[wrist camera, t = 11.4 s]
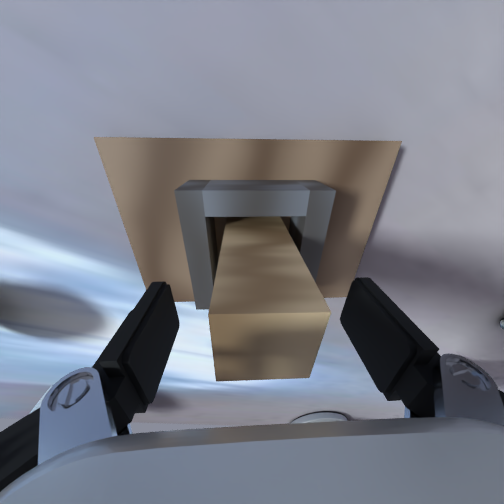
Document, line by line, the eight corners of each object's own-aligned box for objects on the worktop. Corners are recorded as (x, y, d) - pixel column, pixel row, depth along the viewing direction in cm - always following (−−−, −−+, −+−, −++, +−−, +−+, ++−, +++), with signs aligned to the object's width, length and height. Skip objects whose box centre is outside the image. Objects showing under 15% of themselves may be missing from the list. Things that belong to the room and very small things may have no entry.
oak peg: (278, 214, 15) (331, 312, 6) (274, 257, 17) (309, 377, 8) (227, 213, 15) (208, 314, 6) (229, 257, 17) (215, 381, 8)
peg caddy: (387, 141, 14) (451, 140, 10) (341, 287, 21) (367, 324, 17) (108, 137, 13) (42, 134, 9) (156, 292, 20) (133, 333, 16)
